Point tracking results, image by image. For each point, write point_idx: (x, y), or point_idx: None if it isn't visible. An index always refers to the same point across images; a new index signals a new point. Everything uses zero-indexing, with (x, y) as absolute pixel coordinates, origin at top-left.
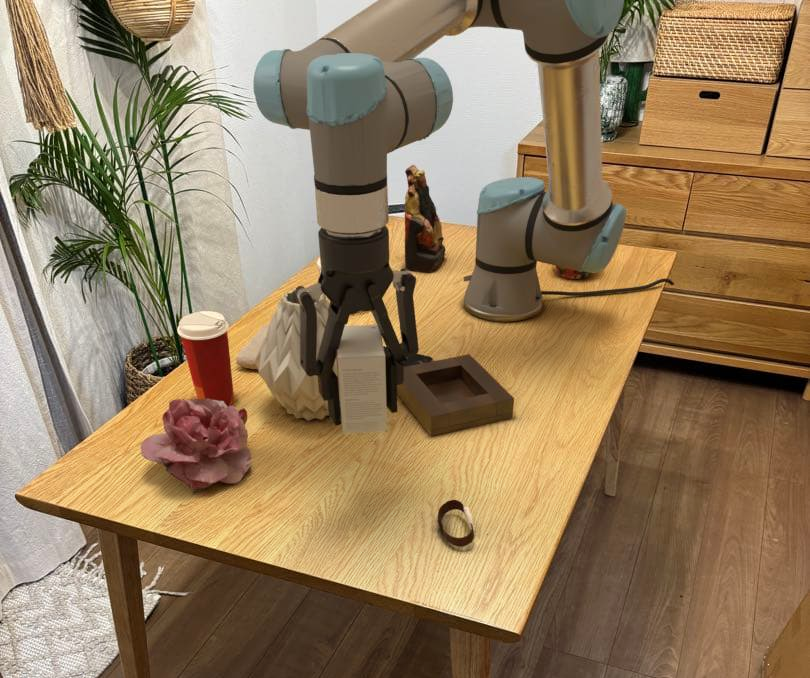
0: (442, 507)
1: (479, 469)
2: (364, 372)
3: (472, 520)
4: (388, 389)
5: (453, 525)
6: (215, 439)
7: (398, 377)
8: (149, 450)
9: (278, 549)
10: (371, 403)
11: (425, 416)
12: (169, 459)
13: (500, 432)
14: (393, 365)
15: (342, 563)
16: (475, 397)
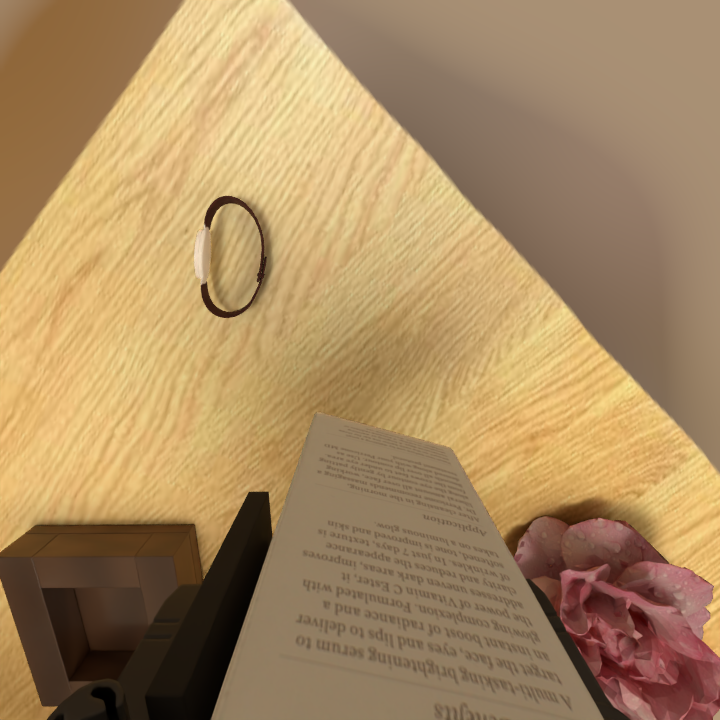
0: (241, 310)
1: (140, 411)
2: (412, 674)
3: (199, 230)
4: (247, 577)
5: (237, 279)
6: (594, 609)
7: (180, 618)
8: (696, 620)
9: (542, 332)
10: (362, 486)
11: (184, 566)
12: (700, 579)
13: (69, 494)
14: (164, 698)
15: (458, 254)
16: (69, 583)
